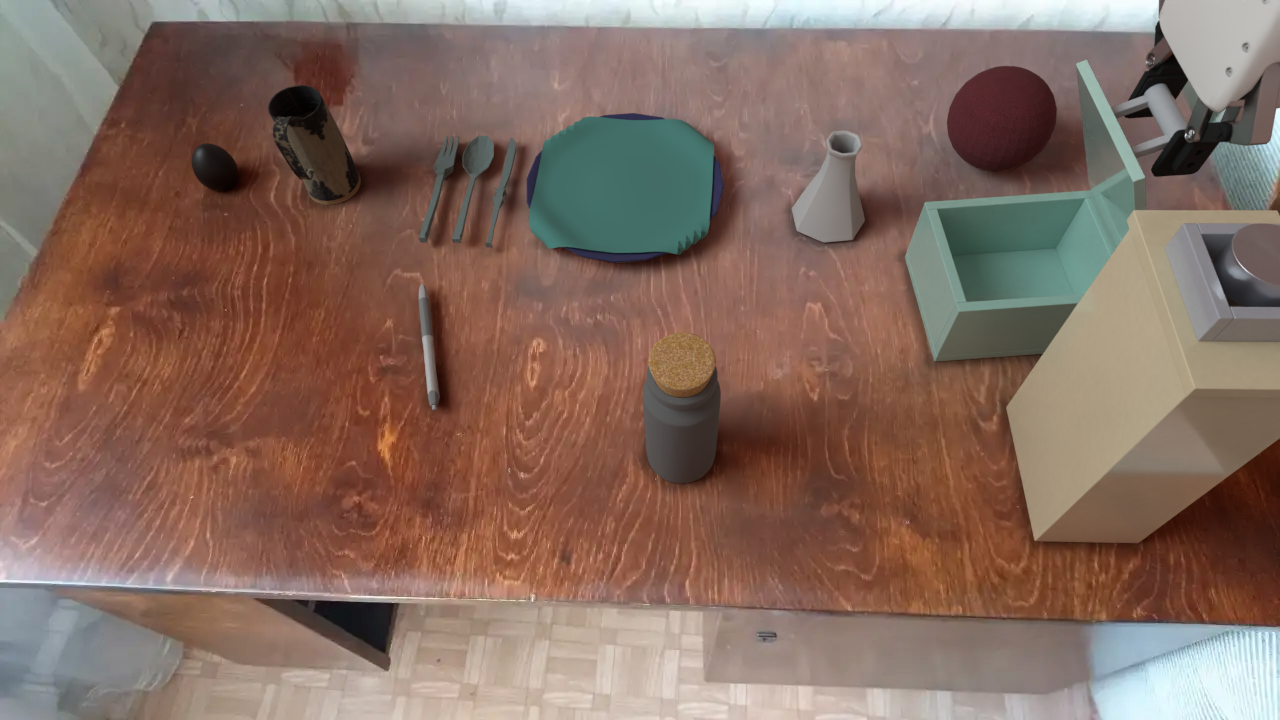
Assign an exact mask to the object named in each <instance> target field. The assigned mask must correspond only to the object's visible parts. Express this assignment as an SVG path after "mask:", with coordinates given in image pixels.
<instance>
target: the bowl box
mask: <svg viewBox="0 0 1280 720" xmlns="http://www.w3.org/2000/svg"><path fill="white" fill-rule="evenodd" d="M1115 249H1116V247H1115V244H1114V242H1113V240H1112V238H1111V235H1110V233H1109V231H1108V229H1107V226H1106V224H1105V222H1104V220H1103V218H1102V215H1101V213H1100V211H1099V209H1098V206H1097V204H1096V202H1095V200H1094V197H1093V195H1092V193H1091V191H1090V189H1088V190H1073V191H1072V190H1071V191H1061V192H1060V191H1059V192H1045V193H1032V194H1018V195H1017V194H1016V195H1004V196H1003V195H1002V196H989V197H976V198H975V197H974V198H962V199H949V200H934V201H933V200H932V201H924V204H923V207H922V208H921V211H920V214H919V217H918V220H917V223H916V225H915V228H914V231H913V233H912V236H911V238H910V242H909V244H908V246H907V250H906V253H905V255H904V261H905V264H906V267H907V270H908V274H909V277H910V282H911V284H912V288H913V292H914V295H915V299H916V303H917V306H918V309H919V313H920V316H921V317H920V318H921V320H922V324H923V327H924V331H925V334H926V338H927V341H928V345H929V348H930V352H931V356H932V359H933V362H935V363H936V362H950V361H962V360H963V361H964V360H976V359H977V360H979V359H991V358H1003V357H1004V358H1005V357H1006V358H1007V357H1018V356H1019V357H1020V356H1032V355H1043V353H1044V352H1045V350H1046V349H1047V347H1048V346H1049V344H1050V343H1051V342H1052V340H1053V339H1054V337H1055V336H1056V334H1057V333H1058V331H1059V330H1060V329H1061V327H1062V326H1063V324H1064V323H1065V321H1066V320H1067V318H1068V317H1069V316H1070V314H1071V313H1072V311H1073V310H1074V308H1075V307H1076V305H1077V304H1078V303H1079V301H1080V300H1081V298H1082V297H1083V295H1084V294H1085V292H1086V291H1087V290H1088V288H1089V287H1090V285H1091V284H1092V282H1093V281H1094V279H1095V278H1096V277H1097V275H1098V274H1099V272H1100V271H1101V269H1102V268H1103V266H1104V265H1105V264H1106V262H1107V261H1108V259H1109V258H1110V256H1111V255H1112V253H1113V252H1114V250H1115Z"/></svg>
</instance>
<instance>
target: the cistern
mask: <svg viewBox="0 0 1280 720" xmlns="http://www.w3.org/2000/svg"><path fill="white" fill-rule="evenodd" d="M1257 223H1268V224H1274V225H1279V226H1280V213H1279V210H1277V209H1276V210H1275V209H1273V210H1272V209H1271V210H1269V209H1265V210H1264V209H1146V210H1133V211H1132V213H1131V214H1130V216H1129V217H1128V219H1127V224H1128V227H1129V230H1128V232H1127V233H1126V235H1125V236H1124V237H1123V239H1122V240H1121V242H1120V243H1119V245H1118V246H1117V248H1116V249H1115V250H1114V252H1113V253H1112V255H1111V256H1110V258H1109V259H1108V261H1107V262H1106V264H1105V265H1104V266H1103V268H1102V269H1101V271H1100V272H1099V274H1098V275H1097V277H1096V278H1095V279H1094V281H1093V282H1092V284H1091V285H1090V287H1089V288H1088V290H1087V291H1086V292H1085V294H1084V295H1083V297H1082V298H1081V300H1080V301H1079V303H1078V304H1077V305H1076V307H1075V308H1074V310H1073V311H1072V313H1071V314H1070V316H1069V317H1068V318H1067V320H1066V321H1065V323H1064V324H1063V326H1062V327H1061V329H1060V330H1059V331H1058V333H1057V334H1056V336H1055V337H1054V339H1053V340H1052V342H1051V343H1050V344H1049V346H1048V347H1047V349H1046V350H1045V352H1044V353H1043V354H1041V356H1040V357H1039V359H1038V360H1037V362H1036V363H1035V365H1034V366H1033V368H1032V369H1031V371H1030V372H1029V373H1028V375H1027V376H1026V377H1025V379H1024V380H1023V382H1022V383H1021V385H1020V386H1019V388H1018V389H1017V390H1016V392H1015V394H1014V395H1013V396H1012V398H1011V399H1010V401H1009V402H1008V404H1007V405H1006V407H1005V408H1006V413H1007V418H1008V422H1009V427H1010V432H1011V437H1012V441H1013V446H1014V451H1015V456H1016V460H1017V464H1018V469H1019V474H1020V479H1021V483H1022V488H1023V492H1024V493H1023V494H1024V498H1025V502H1026V507H1027V512H1028V516H1029V517H1028V518H1029V521H1030V522H1029V523H1030V525H1031V526H1030V527H1031V531H1032V535H1033V540H1034V542H1051V543H1052V542H1055V543H1056V542H1057V543H1104V544H1105V543H1106V544H1107V543H1109V544H1139V543H1141V542H1143V540H1145V539H1146V538H1147V537H1149V536H1150V535H1151V534H1153V533H1154V532H1156V531H1157V530H1158V529H1160V528H1161V527H1163V526H1164V525H1165V524H1166V523H1168V522H1169V521H1170V520H1172V519H1173V518H1174V517H1176V516H1177V515H1178V514H1180V513H1181V512H1182V511H1184V510H1186V509H1187V508H1188V507H1189V506H1191V505H1192V504H1193V503H1195V502H1196V501H1197V500H1199V499H1200V498H1202V497H1203V496H1204V495H1205V494H1207V493H1209V491H1211V490H1212V489H1213V488H1215V487H1216V486H1218V485H1219V484H1220V483H1222V482H1223V481H1225V480H1226V479H1227V478H1228V477H1230V476H1231V475H1233V474H1234V473H1235V472H1236V471H1237V470H1239V469H1241V468H1242V467H1244V465H1246V464H1247V463H1248V462H1250V461H1251V460H1253V459H1254V458H1255V457H1257V456H1258V455H1260V454H1261V453H1262V452H1264V451H1265V450H1266V449H1267V448H1269V447H1270V446H1272V444H1274V443H1276V442H1277V441H1279V440H1280V307H1245V306H1242V305H1240V304H1238V303H1236V302H1234V301H1233V300H1231V299H1230V298H1228V297H1227V296H1226V295H1225V294H1224V291H1223V289H1222V286H1221V284H1220V281H1219V279H1218V276H1217V273H1216V271H1215V268H1214V266H1213V263H1212V262H1213V260H1214V258H1215V257H1216V256H1217V255H1218V253H1219V252H1220V251H1221V250H1222V249H1223V248H1224V246H1225V245H1226V244H1227V243H1228V242H1229V241H1230V239H1231V238H1232V237H1233V236H1234V235H1235V234H1236V232H1237V231H1239V230H1240V229H1241V228H1243V227H1245V226H1248V225H1251V224H1257Z"/></svg>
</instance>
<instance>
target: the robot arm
mask: <svg viewBox="0 0 1280 720" xmlns="http://www.w3.org/2000/svg"><path fill="white" fill-rule="evenodd" d="M1145 66H1146V68H1147V69H1148V70H1145V71H1144V72H1143V74H1142V76H1141V78H1140V79H1139V80H1138V82H1137V84H1136V85H1135V88H1134V89H1133V91H1132V92H1131V94H1130V96H1129V98H1128V99H1127V101H1130V100H1132V99H1135V98H1138V97H1140V96H1143V95H1144V93H1145V92H1146V91H1147V90H1148V89H1149V88H1150V87H1152V86H1154V85H1156V84H1166V85H1167V86H1168V88H1169V90H1170V91H1171V93H1172V95H1173V97H1174V99H1175V100H1176V101H1177V99H1178V98H1179V96H1180V94H1181V92H1182V91H1183V89H1184V88H1185V87H1186V85H1187V83H1188V82H1189V83H1190V85H1191V87H1192V88H1193V90H1194V92H1195V94H1196V95H1197V96H1198V98H1197V100H1196V103H1195V105H1194V108H1193V109H1192V112H1191V115H1190V116H1189V119H1188V121H1187V122H1188V124H1187V127H1186V129H1183V130H1178V131H1176V132H1175V133H1174V134H1173V136H1172V137H1171V139H1170V140H1169V142H1168V143H1167V145H1166V146H1165V148H1164V149H1163V150H1161V152H1160V154H1159V155H1158V157H1157V158H1156V159H1155V161H1154V162H1153V164H1152V165H1151V169H1150V171H1151V173H1152V175H1153V177H1155V178H1159V177H1160V178H1161V177H1175V176H1189V175H1193V174H1196V173H1198V172H1199V171H1200V170H1201V168H1202V167H1203V165H1204V164H1205V163H1206V162H1207V160H1208V159H1209V157H1210V156H1211V155H1212V154H1213V152H1214V151H1215V150H1216V148H1217V147H1218V146H1219V144H1220V143H1229V144H1231V145H1239V146H1244V147H1247V146H1259V145H1262V146H1263V145H1267V144H1269V143H1270V141H1271V140H1272V135H1273V131H1274V125H1275V118H1276V113H1277V109H1280V0H1158V20H1157V22H1156V25H1155V27H1154V44H1153V48H1152V49H1151V50H1150V51H1149V52H1148V53H1147V55H1146V57H1145ZM1222 112H1224V113H1223V115H1222V117H1221V119H1220V121H1215V122H1211V118H1212V116H1213V114H1214V113H1222ZM1123 117H1124V118H1125V119H1129V120H1130V119H1141V118H1142V119H1143V118H1154V117H1153V115H1152V113H1151V111H1150V109H1149V107H1147V108H1144V109H1142V110H1139V111H1136V112H1133V113H1131V114H1128V115H1125V116H1123Z"/></svg>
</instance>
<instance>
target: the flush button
mask: <svg viewBox="0 0 1280 720" xmlns="http://www.w3.org/2000/svg"><path fill="white" fill-rule="evenodd" d="M1212 263H1213V266H1214V268H1215V271H1216V273H1217V276H1218V279H1219V281H1220V284H1221V286H1222V289H1223V291H1224V294H1225V295H1226V296H1227V297H1228V298H1230V299H1231V300H1233V301H1234V302H1236V303H1238V304H1240V305H1242V306H1245V307H1280V226H1279V225H1274V224H1268V223H1257V224H1251V225H1248V226H1245V227H1243V228H1241V229H1240V230H1239V231H1237V232H1236V234H1235V235H1234V236H1233V237H1232V238H1231V239H1230V241H1229V242H1228V243H1227V244H1226V245H1225V246H1224V248H1223V249H1222V250H1221V251H1220V252H1219V253H1218V255H1217V256H1216V257H1215V258H1214V260H1213V262H1212Z"/></svg>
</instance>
